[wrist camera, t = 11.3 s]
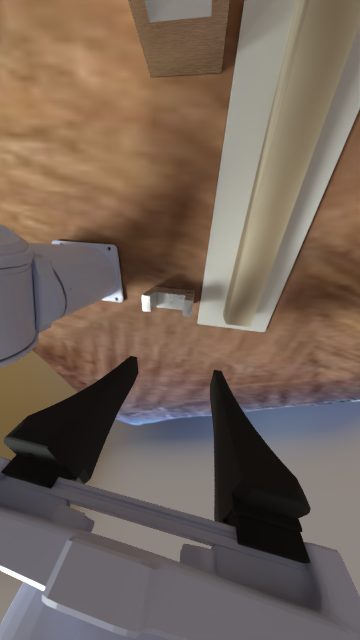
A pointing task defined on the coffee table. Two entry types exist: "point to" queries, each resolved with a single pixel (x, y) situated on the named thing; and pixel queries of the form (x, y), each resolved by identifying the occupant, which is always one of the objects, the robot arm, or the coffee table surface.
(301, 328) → the coffee table surface
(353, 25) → the ash rail
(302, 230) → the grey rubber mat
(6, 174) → the coffee table surface
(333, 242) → the coffee table surface
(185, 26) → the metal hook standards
